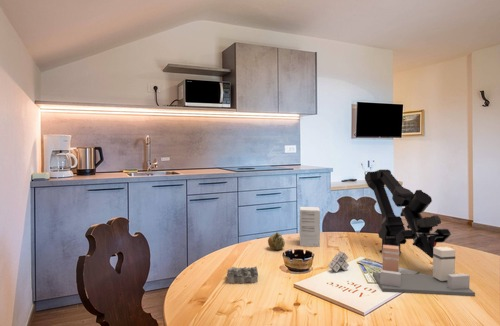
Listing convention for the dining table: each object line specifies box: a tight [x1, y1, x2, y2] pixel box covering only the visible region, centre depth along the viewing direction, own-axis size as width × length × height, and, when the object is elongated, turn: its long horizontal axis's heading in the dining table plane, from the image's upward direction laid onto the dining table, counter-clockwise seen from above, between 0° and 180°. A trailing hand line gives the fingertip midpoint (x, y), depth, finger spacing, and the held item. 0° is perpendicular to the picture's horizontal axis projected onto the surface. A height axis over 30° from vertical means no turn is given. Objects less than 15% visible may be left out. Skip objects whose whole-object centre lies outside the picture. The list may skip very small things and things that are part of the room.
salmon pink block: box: [381, 245, 400, 272], centre depth 117 cm, size 4×5×10 cm
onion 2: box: [267, 231, 286, 251], centre depth 154 cm, size 8×8×8 cm
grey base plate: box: [372, 269, 476, 297], centre depth 113 cm, size 14×27×5 cm, turn 83°
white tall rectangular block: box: [432, 246, 456, 281], centre depth 115 cm, size 4×5×10 cm
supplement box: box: [299, 206, 321, 248], centre depth 162 cm, size 10×9×17 cm
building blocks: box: [327, 251, 350, 273], centre depth 128 cm, size 5×5×8 cm
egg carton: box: [226, 266, 259, 285], centre depth 118 cm, size 11×8×4 cm
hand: (433, 257), depth 121 cm, fingers closed
